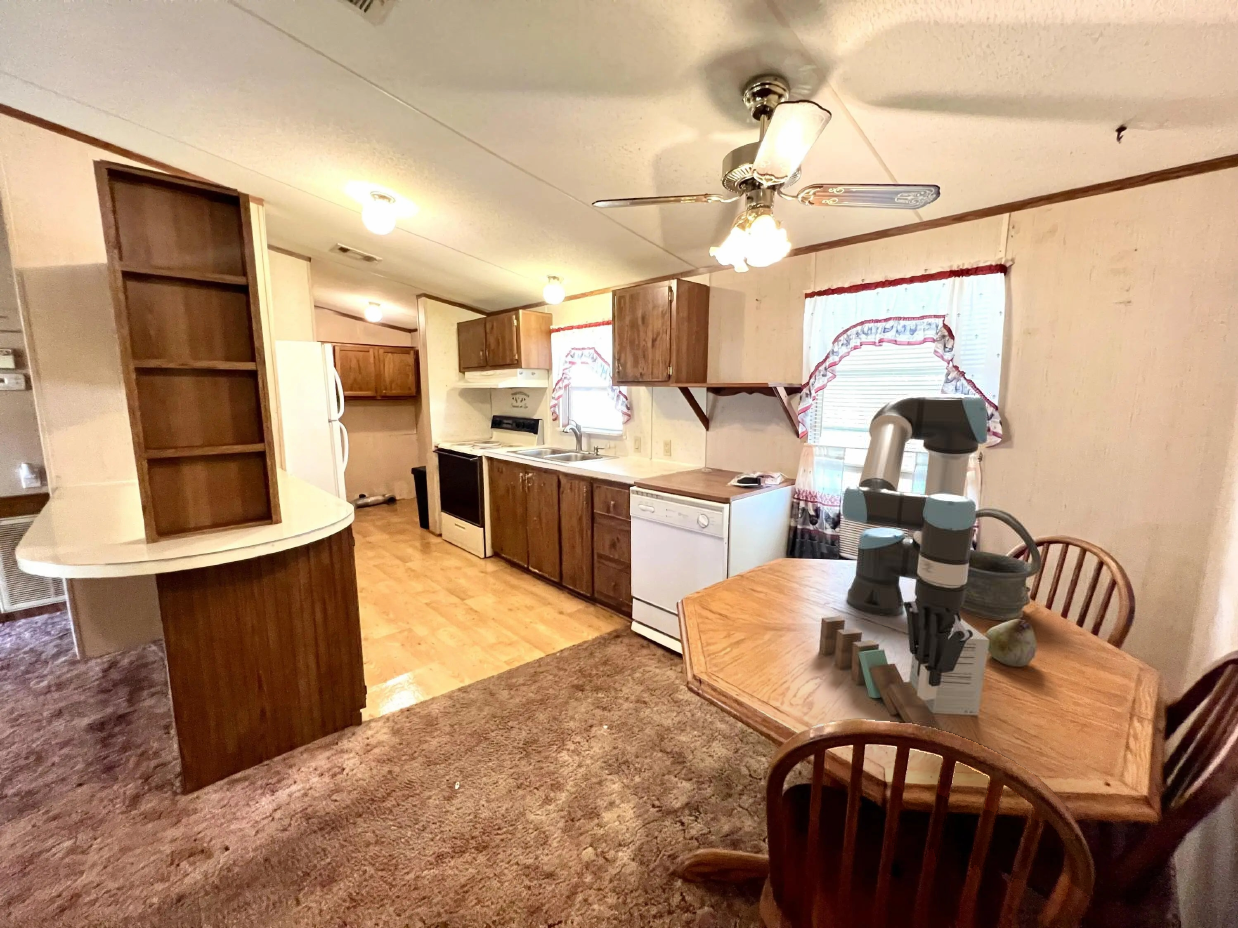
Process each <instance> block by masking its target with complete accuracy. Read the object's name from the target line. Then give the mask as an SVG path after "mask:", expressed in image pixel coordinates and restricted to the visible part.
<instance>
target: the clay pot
mask: <svg viewBox="0 0 1238 928" xmlns="http://www.w3.org/2000/svg"><path fill="white" fill-rule="evenodd" d="M975 515H976V516H975V518H976V520H977V519H979V518H987V517H988V518H991V519H996V520H998V521H1001V522H1003V523H1004V524H1005V525H1006V526H1008V527H1009V528H1011V529H1012V530H1013V531H1014V532H1015V533H1016V534H1017V535H1019V537H1020V538H1021V539H1022V541H1023V542H1024V544H1025V545H1026V547H1027V549H1028V551H1029V553H1030V556H1031V562H1028V561H1025V560H1021V559H1019V558H1015V557H1012V556H1008V555H1003V554H999V553H993V552H988V551H984V550H983V551H982V550H976V549H970V554H969V566H968V575H967V582H966V584H964V586H965V587H966V589H965V597H964V603H963V605H962V607H961V608H960V610H959V611H960V612H964V613H967V614H969V615H972V616H976V617H980V618H983V619H984V618H985V619H988V620H995V621H1005V622H1008V621H1011V620H1015V619H1020V620H1021V618H1022V617H1023V615H1024V611H1023V609H1024V607H1025V606H1026V607H1027V606H1028V605H1029V604H1030V603H1031V600H1030V597H1029V593H1030V591H1031V588H1030V587H1029V586H1027V579H1028V578H1030V577H1034V576H1035V575H1037V574H1038V573H1040V571H1041V569H1042V564H1043V563H1042V556H1041V553H1040V550H1039V549H1038V547H1037V544H1036V543H1035V541H1034V539H1033V538H1032V535H1031V534H1030V533H1029V532H1028V530H1027V529H1026V528H1025V526H1024V525H1023V523H1021V521H1019V519H1017V518H1016V517H1015V516H1013V515H1012V514H1011V513H1009V512H1007V511H1005V510H1003V509H998V508H993V507H990V508H989V507H987V508H986V507H985V508H980V509H977V510H975Z"/></svg>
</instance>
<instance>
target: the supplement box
mask: <svg viewBox="0 0 1238 928" xmlns="http://www.w3.org/2000/svg"><path fill="white" fill-rule="evenodd" d="M960 623H961V624H962V625H963V627H964V628H965V629H966V630H971V631H972V633H973V636H972V637H971V638H970V639H968V640H967V641H966V643H965V645H964V648H963V650H962V652H961V654H960V657H959V659H958V661H957V664H956V666H955V668H954V671H952V672H945V673H942V675H941V683H940V685H939V686H937V690H936V698H935V699H929V700H923V701H924V702H925V704H926V705H927V707H928V708H929V710H930V711H931V713H932V714H945V715H946V714H947V715H962V716H963V715H964V716H965V715H966V716H978V715H979V710H980V703H981V697H982V692H983V691H982V690H983V682H984V677H985V669H986V664H987V658H988V653H989V651H988V646H989V639H987V638H986V637H985V635H983V634H982V633H981V632H979V631H978V630H977V629H976V628H974V627H972V625H970V624H969V623H967V622H966V621H965V620H964V619H963V618H962V617H961V621H960ZM952 630H953V628H952ZM950 636H951V635H950ZM950 636H949V637H948V639H949V638H950ZM916 647H918V646H916ZM917 670H918V660H917V657H916V655H915V654H912V657H911V665H910V673H909V680H908V682H910V681H911V683H912V684H913V686H914V687H915V689H916V690H917V692H918V683H919V677H918V675H917Z"/></svg>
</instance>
